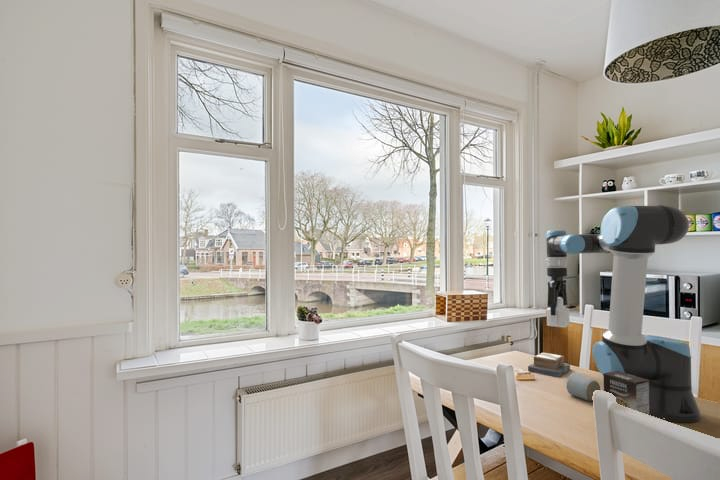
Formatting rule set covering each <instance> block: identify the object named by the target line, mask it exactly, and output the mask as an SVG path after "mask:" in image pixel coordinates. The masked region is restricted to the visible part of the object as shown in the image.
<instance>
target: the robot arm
mask: <svg viewBox="0 0 720 480" xmlns="http://www.w3.org/2000/svg"><path fill="white" fill-rule="evenodd" d="M689 229H690V222H689V218H688V217H687V215H686V214H685V213H684V212H683V211H682V210H681V209H679V208H677V207H675V206H671V205H663V204H662V205H661V204H660V205H624V206H622V205H621V206H616V207H613V208H611V209H610V210H608V212H606V214H605V215H604V216H603V218H602V221H601V224H600V233H594V234H592V233H591V234H589V233H588V234H587V233H586V234H583V233H582V234H575V233H573V234H572V233H571V234H569V233H568V234H567V231H566V230H565V229H564V230H563V229H559V230H558V229H557V230H556V229H555V230H554V229H553V230H548V231H547V232H546V239H545V240H546V259H545V261H546V265H547V268H546V275H547V276H548V277H550V281H547V307H548V308H550V323H556V324H558V308H557V299H558V297H564V298H565V299H566V306H568V295H567V280H566V279H564V278H565V277H568V268H567V266H568V256H567V254H568V255H577V254H612V255H613V260H612V271H611V272H612V275H611V289H610V301H609V302H610V303H609V304H610V305H609V314H608V317H609V318H608V329H606V330H605V331H604V332H603V333H602V336H601V337H602V338H601V341H598V340H597V342H595V343H594V344H593V346H592V357H593V361H594V363H595V365H596V368H597V370H598V371H599V373H600V374H601V375H602V376H603V377H604V375H603V374H604V373H607V372H614V371H619V372H623V373H626V374H630V375H633V376H637V377H640V378H644V379H648V380H649V416H650V415H652V416H651V417H653V416H655V417H654V418H656V417H658V418H657V419H659V418H660V419H659V420H663V418H665V419H664V421H669V422H673V421H674V423H681V422H682V423H685V424H686V423H687V424H688V423H690V424H691V423H697V422H699V421H700V420H701V412H700V411H701V410H700V408H699V406H698V404H697V401H696V398H695V396H694V394H693V389H692V388H693V387H692V355H691V348H690V346H689V344H688V343H687V342H685V341H682V340H679V339H674V338H671V337H666V336H658V335H652V334H651V335H650V334H646V335H642V331H643V319H644V307H645V295H646V284H647V272H648V271H647V270H648V259H649V257H650V256H652V255H653V254H655V252H656V245H668V244H670V245H671V244H673V243H677V242H679V241H680V240H682V239H684V237H686V235H687V234H688V232H689ZM676 421H677V422H676Z"/></svg>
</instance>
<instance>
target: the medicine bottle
mask: <svg viewBox="0 0 720 480" xmlns="http://www.w3.org/2000/svg"><path fill="white" fill-rule="evenodd" d="M557 308H558V324H556V323H550V307H548V308H546V326H548V327H555V328H563V329H564V328H567V327H569V326H570V308H569V307H567V305H566V299H565V298H564V297H558V299H557Z"/></svg>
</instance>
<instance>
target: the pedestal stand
mask: <svg viewBox="0 0 720 480" xmlns="http://www.w3.org/2000/svg"><path fill="white" fill-rule="evenodd" d="M570 370H571V365H570V364H568V363H565V357H564V355H560V354H556V353H555V354H554V353H549V352H541V353H538V354H536V355H534V356H533V363H532V364H529V365H528V366H527V372H530V371H532V372H531V373H535V372H536V374H539V375H540V374H541V375H544V376H545V375H546V376H552V377H555V378H560V377H561V376H562V375H564V374H565V373H567V372H568V371H570Z"/></svg>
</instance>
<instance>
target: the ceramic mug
mask: <svg viewBox="0 0 720 480" xmlns="http://www.w3.org/2000/svg"><path fill="white" fill-rule="evenodd" d="M595 390H600V391H601V386H600V384H599V382H598V381H597V380H594V379H593V378H590V377H587V376H585V375H582V374H579V373H577V372H573V373H571V374H570V375H569V376H568V378H567V381H566V391H567V392H568V394H569V395H570V396H573V397H577V398H580V399H583V400H585V401H589V402H593V401H592V396H593V392H594V391H595Z"/></svg>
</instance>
